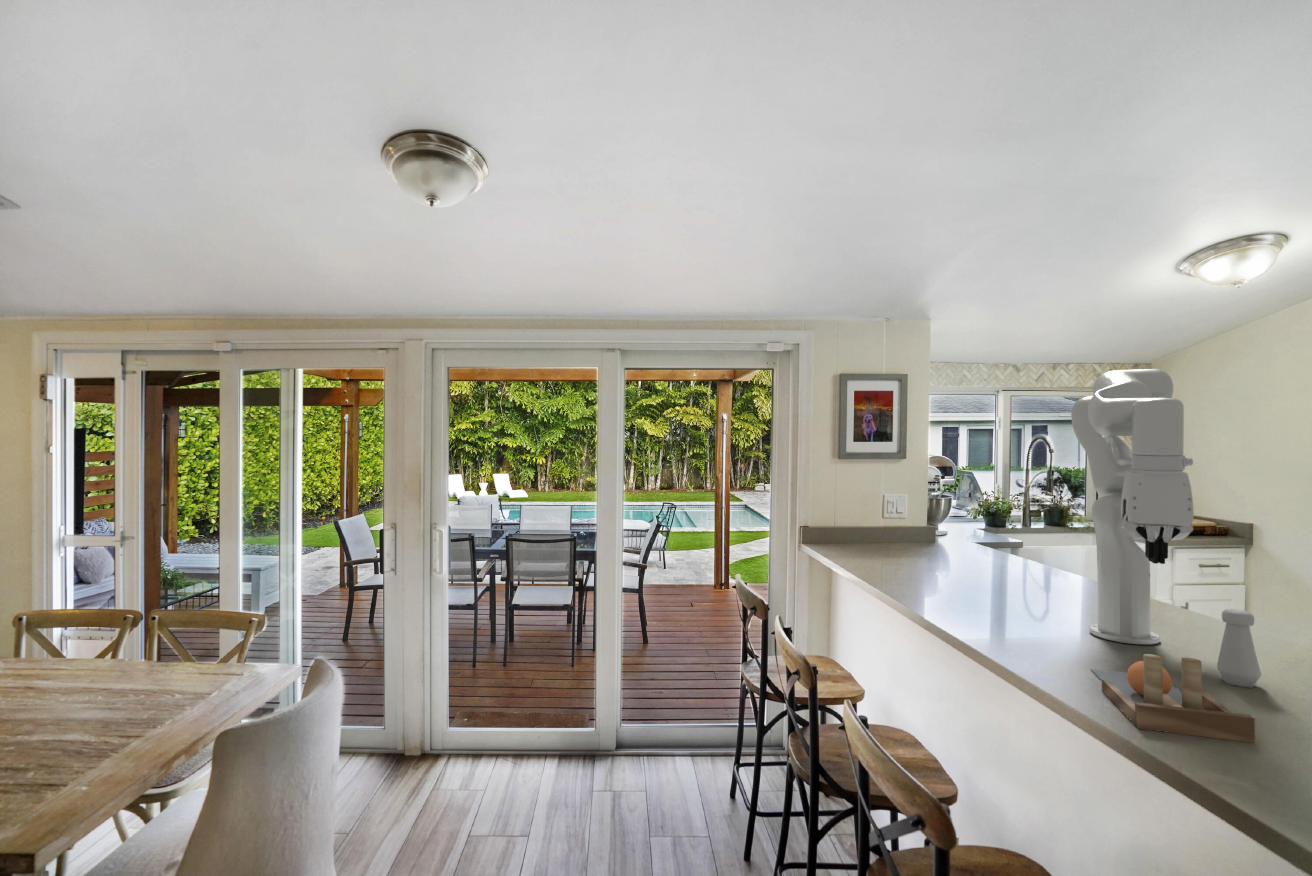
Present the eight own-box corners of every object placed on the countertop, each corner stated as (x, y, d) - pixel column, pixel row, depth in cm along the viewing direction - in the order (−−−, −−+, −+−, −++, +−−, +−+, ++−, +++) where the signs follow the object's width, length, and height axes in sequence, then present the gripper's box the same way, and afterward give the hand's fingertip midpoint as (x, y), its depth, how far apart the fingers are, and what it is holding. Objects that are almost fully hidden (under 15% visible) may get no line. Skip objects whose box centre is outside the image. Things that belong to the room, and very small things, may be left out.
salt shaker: (1269, 690, 109) (1268, 615, 109) (1231, 688, 110) (1230, 614, 111) (1245, 678, 115) (1244, 607, 115) (1209, 676, 116) (1208, 605, 116)
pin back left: (1179, 713, 100) (1178, 656, 100) (1197, 715, 99) (1196, 658, 99) (1186, 719, 98) (1185, 661, 98) (1205, 722, 97) (1204, 663, 97)
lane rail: (1102, 690, 109) (1101, 670, 109) (1200, 701, 105) (1200, 680, 105) (1138, 728, 94) (1138, 705, 94) (1254, 742, 90) (1254, 718, 90)
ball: (1133, 670, 104) (1134, 704, 105) (1177, 672, 102) (1178, 707, 103) (1121, 653, 110) (1122, 686, 110) (1162, 655, 108) (1164, 688, 108)
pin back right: (1141, 709, 101) (1140, 653, 102) (1159, 711, 101) (1158, 655, 101) (1147, 715, 99) (1147, 658, 99) (1165, 717, 98) (1165, 659, 98)
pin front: (1155, 692, 102) (1181, 714, 94) (1173, 695, 101) (1201, 718, 93) (1154, 706, 102) (1180, 730, 94) (1172, 710, 102) (1199, 734, 93)
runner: (1090, 670, 119) (1090, 669, 119) (1160, 677, 116) (1160, 676, 116) (1148, 728, 94) (1148, 727, 94) (1239, 739, 91) (1239, 738, 91)
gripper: (1197, 463, 118) (1196, 560, 118) (1103, 462, 123) (1102, 555, 124) (1216, 466, 111) (1215, 569, 111) (1116, 466, 116) (1115, 564, 117)
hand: (1156, 561), depth 118 cm, fingers closed
